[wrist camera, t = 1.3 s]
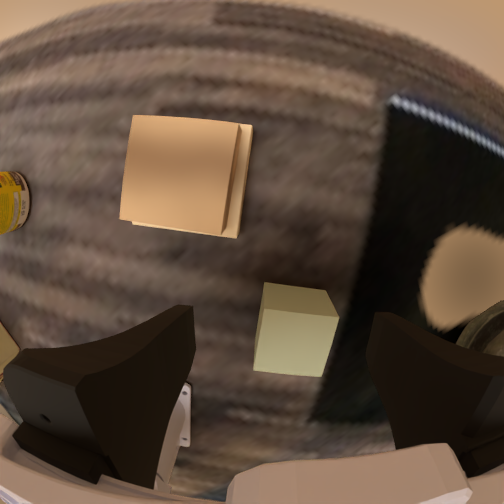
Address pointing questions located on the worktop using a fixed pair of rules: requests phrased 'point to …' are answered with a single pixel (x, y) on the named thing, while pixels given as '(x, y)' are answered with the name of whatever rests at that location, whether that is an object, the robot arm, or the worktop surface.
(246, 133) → the bottom slab
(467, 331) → the bowl
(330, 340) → the cube
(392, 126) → the worktop surface
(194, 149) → the top slab
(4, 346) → the gift box
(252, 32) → the worktop surface
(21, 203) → the supplement bottle
